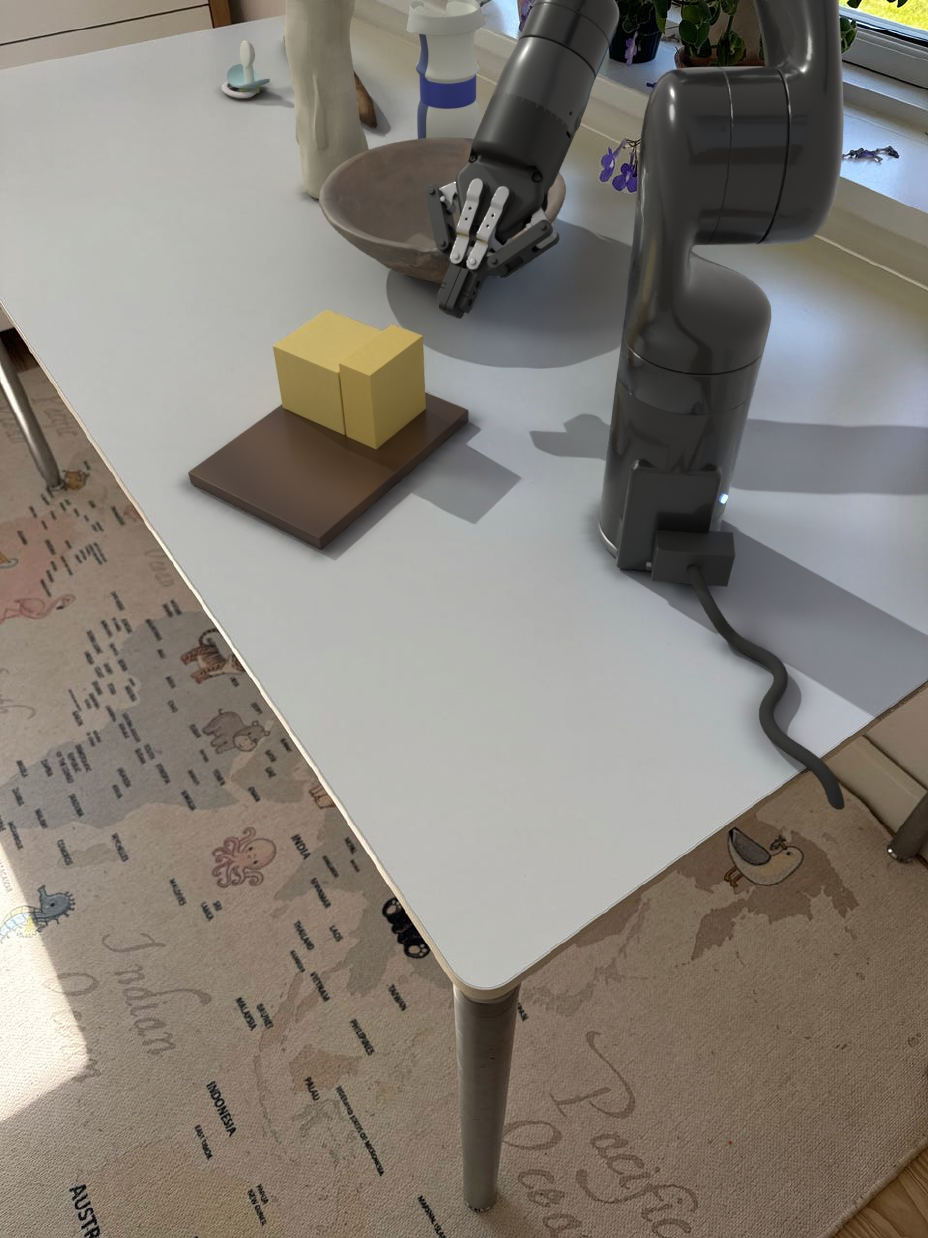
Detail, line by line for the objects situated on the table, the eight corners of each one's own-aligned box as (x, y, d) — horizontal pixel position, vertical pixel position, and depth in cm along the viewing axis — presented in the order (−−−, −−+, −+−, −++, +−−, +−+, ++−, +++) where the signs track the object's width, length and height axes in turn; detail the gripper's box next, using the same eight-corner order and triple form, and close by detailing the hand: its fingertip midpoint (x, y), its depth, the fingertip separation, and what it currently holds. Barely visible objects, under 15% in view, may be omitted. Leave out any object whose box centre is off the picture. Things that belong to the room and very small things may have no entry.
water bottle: (401, 180, 121) (389, -65, 102) (466, 168, 123) (466, -74, 105) (426, 209, 116) (418, -44, 97) (494, 195, 118) (499, -54, 100)
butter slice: (396, 396, 89) (392, 323, 83) (426, 408, 87) (423, 335, 82) (346, 436, 85) (338, 362, 79) (376, 449, 84) (370, 375, 78)
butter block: (333, 370, 91) (326, 308, 87) (394, 395, 89) (391, 333, 84) (282, 407, 88) (272, 345, 83) (344, 435, 85) (337, 372, 80)
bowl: (496, 193, 118) (498, 118, 112) (605, 292, 103) (614, 210, 97) (295, 237, 111) (284, 158, 105) (379, 350, 96) (373, 266, 90)
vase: (351, 168, 123) (326, -132, 101) (385, 194, 118) (367, -115, 96) (288, 185, 120) (247, -121, 98) (320, 213, 115) (286, -103, 93)
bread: (269, 44, 153) (264, 7, 149) (301, 39, 154) (297, 3, 151) (358, 137, 129) (355, 96, 126) (394, 130, 131) (392, 89, 127)
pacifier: (237, 105, 137) (276, 94, 139) (228, 56, 132) (268, 45, 135) (214, 89, 141) (252, 78, 143) (204, 40, 136) (243, 30, 139)
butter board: (345, 369, 94) (344, 358, 93) (468, 420, 88) (468, 409, 87) (190, 483, 82) (187, 472, 82) (321, 550, 77) (319, 538, 76)
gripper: (449, 73, 82) (366, 275, 84) (589, 110, 77) (498, 323, 79) (484, 120, 89) (407, 305, 91) (615, 155, 84) (530, 351, 86)
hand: (449, 313), depth 85 cm, fingers closed
